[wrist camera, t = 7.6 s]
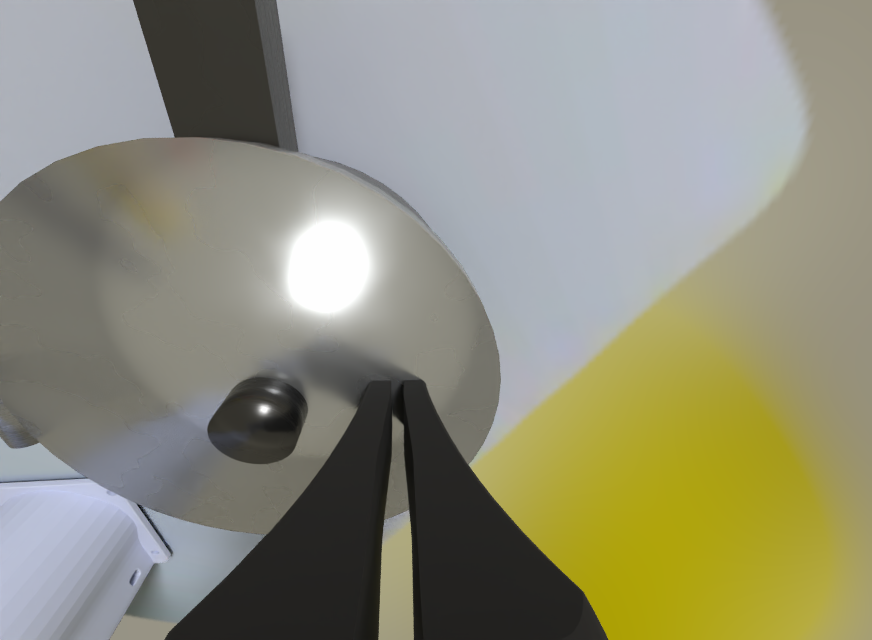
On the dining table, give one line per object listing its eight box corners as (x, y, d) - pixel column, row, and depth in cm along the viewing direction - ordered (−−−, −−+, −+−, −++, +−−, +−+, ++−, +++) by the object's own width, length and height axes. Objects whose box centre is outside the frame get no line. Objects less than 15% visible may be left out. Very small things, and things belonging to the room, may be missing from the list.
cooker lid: (471, 502, 15) (480, 555, 13) (111, 518, 14) (61, 580, 12) (529, 153, 8) (568, 157, 6) (-205, 115, 7) (-460, 105, 5)
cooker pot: (447, 413, 20) (460, 490, 15) (205, 422, 18) (144, 510, 14) (486, -41, 10) (550, -175, 6) (-17, -99, 9) (-433, -339, 4)
